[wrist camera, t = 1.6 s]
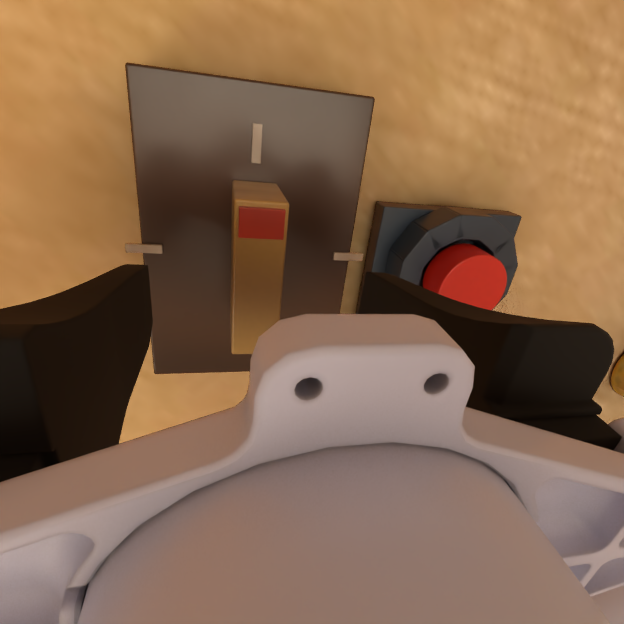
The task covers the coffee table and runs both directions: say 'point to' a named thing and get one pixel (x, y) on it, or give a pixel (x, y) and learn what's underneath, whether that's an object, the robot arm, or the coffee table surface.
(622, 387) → the vase
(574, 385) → the robot arm
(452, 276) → the button
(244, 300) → the red label carton
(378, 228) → the button block
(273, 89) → the dial panel
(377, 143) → the coffee table surface
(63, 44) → the coffee table surface
